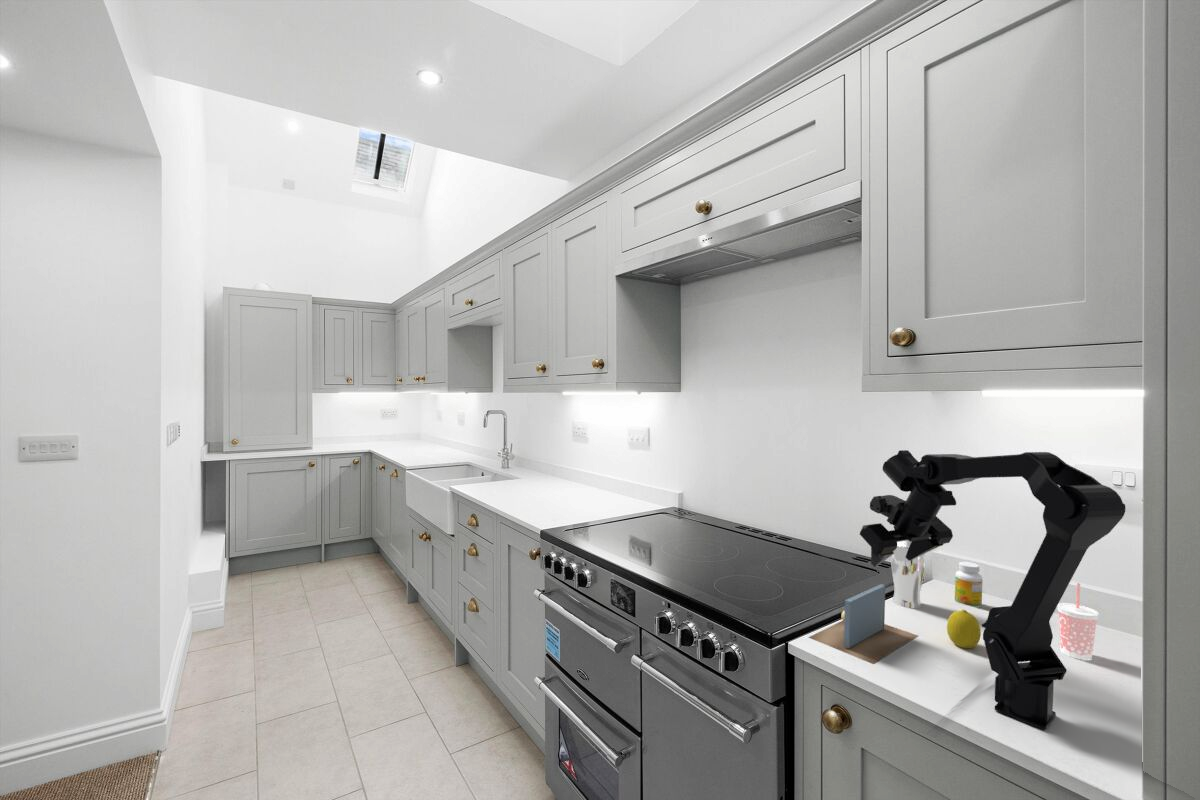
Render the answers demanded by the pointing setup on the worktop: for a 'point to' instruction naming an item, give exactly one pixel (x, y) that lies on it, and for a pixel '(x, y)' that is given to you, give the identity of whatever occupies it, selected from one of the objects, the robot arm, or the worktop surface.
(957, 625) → the lemon
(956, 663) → the worktop surface
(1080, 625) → the beverage cup
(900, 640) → the brown flat rectangle
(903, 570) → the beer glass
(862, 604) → the door
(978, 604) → the supplement bottle
